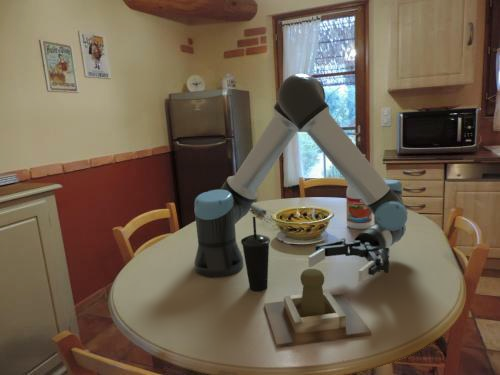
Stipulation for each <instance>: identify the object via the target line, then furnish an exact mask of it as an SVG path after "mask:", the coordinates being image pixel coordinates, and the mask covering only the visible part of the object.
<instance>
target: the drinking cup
mask: <svg viewBox="0 0 500 375" xmlns="http://www.w3.org/2000/svg"><path fill="white" fill-rule="evenodd" d="M252 225H253V226H252V227H253V234H250V235H248V236H245V237H243V238H242V239H241V240H240V243H241V245H242V249H243V256H244V262H245V266H246V268H245V269H246V272H247V279H248V284H249V285H248V287H249V289H250V291H253V292H259V293H260V292H264V291H265V290H267V289H268V284H269V283H268V282H269V281H268V279H269V278H268V277H269V254H270V253H269V250H270V241H271V239H270V237H268V236H266V235H262V234H257V223H256V216H253V217H252Z"/></svg>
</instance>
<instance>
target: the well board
mask: <svg viewBox="0 0 500 375" xmlns="http://www.w3.org/2000/svg"><path fill="white" fill-rule="evenodd" d="M323 295H324V301H325V307H326V313H327V314H324V315H317V316H309V317H301V318H300V312H301V302H302V293H301V294H300V293H299V294H292V295H284V296H283V301H281V300H280V301H274V302H265V303H263V306H264V309H265V312H266V316H267V320H268V323H269V327H270V329H271V330H270V331H271V333H272V335H273V339H274V342H275V343H274V344H275V345H276V348H277V349H279V348H284V347H293V346H301V345H306V344H313V343H314V344H315V343H322V342H327V341H328V342H330V341H336V340H343V339H349V338H357V337H358V338H359V337H365V336H371V335H372V331H371V329H370V328H369V326H368V325H367V323H365V321H364V320H363V318H362V317H361V316H360V314H359V313H358V312H357V310H355V308H354V307H353V305H352V304H351V303H350V302H349V300H348V299H347V297H346V296H345V294H344V293H339V294H331V292H330V290H325V291H324V290H323Z"/></svg>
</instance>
